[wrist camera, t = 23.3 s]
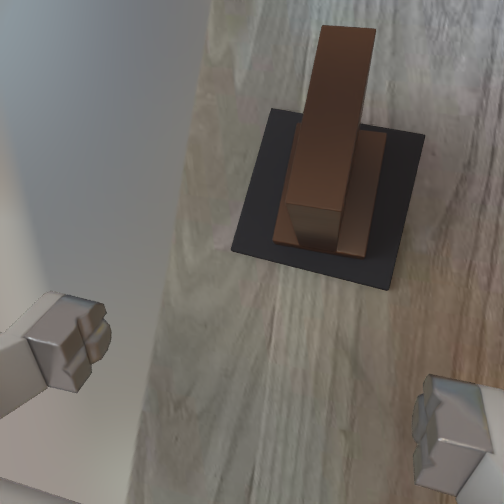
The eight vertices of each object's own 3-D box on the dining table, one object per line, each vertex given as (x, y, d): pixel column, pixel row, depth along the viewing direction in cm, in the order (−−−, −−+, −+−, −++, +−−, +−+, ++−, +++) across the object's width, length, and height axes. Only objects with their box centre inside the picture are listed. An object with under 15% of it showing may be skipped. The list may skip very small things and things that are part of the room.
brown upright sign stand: (363, 260, 23) (387, 219, 14) (273, 244, 24) (243, 196, 15) (385, 140, 23) (419, 30, 15) (298, 129, 24) (282, 21, 16)
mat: (387, 290, 22) (388, 290, 22) (231, 251, 24) (230, 250, 24) (423, 137, 24) (425, 134, 23) (272, 111, 25) (271, 107, 25)
